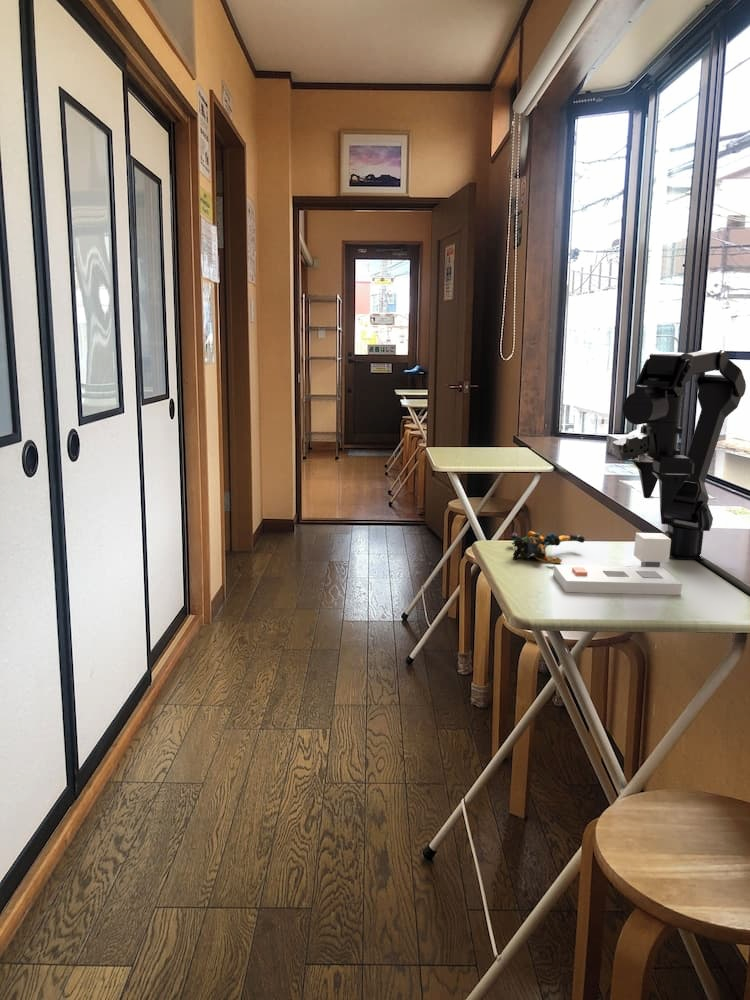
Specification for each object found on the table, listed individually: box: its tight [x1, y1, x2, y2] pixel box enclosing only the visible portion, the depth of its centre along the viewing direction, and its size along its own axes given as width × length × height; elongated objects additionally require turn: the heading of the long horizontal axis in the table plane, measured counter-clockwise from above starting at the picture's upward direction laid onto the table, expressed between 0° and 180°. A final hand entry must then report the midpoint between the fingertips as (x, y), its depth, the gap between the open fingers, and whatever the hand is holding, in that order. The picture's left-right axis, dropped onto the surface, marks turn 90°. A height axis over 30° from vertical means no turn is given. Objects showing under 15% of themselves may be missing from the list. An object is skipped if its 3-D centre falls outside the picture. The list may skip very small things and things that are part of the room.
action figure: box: [510, 530, 586, 564], centre depth 163 cm, size 6×15×15 cm
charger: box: [633, 532, 671, 567], centre depth 156 cm, size 5×5×6 cm
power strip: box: [552, 564, 682, 596], centre depth 146 cm, size 20×10×3 cm, turn 90°
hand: (655, 503), depth 154 cm, fingers open, 9 cm apart
